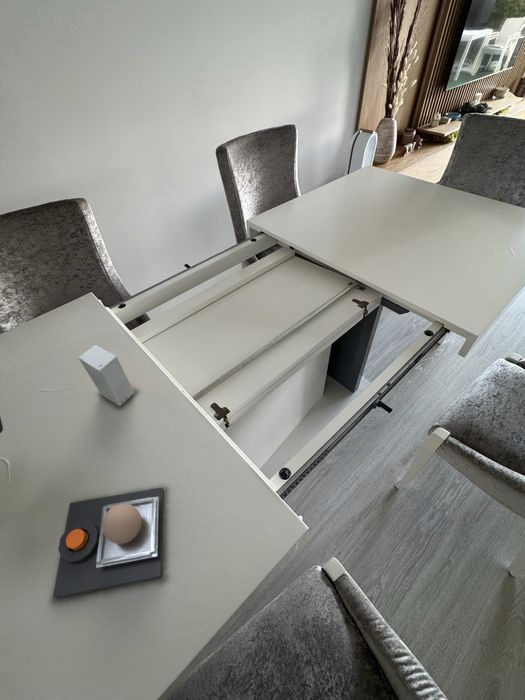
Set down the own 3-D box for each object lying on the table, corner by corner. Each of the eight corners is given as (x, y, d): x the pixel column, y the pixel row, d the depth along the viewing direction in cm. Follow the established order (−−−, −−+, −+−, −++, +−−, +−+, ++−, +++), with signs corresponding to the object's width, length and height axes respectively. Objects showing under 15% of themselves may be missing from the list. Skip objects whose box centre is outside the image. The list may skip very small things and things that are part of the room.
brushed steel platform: (96, 568, 50) (93, 567, 49) (104, 506, 55) (101, 504, 55) (157, 556, 51) (155, 555, 50) (159, 497, 56) (157, 494, 55)
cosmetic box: (135, 392, 73) (117, 356, 64) (120, 407, 71) (99, 371, 62) (115, 380, 75) (95, 343, 66) (100, 394, 73) (76, 358, 64)
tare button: (68, 552, 52) (63, 549, 50) (71, 533, 53) (67, 530, 52) (86, 548, 52) (82, 546, 51) (89, 530, 54) (85, 527, 52)
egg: (153, 523, 53) (141, 510, 48) (128, 555, 51) (112, 545, 45) (129, 504, 55) (115, 489, 50) (104, 534, 52) (86, 522, 47)
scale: (57, 598, 50) (47, 596, 48) (73, 505, 58) (65, 499, 56) (162, 577, 52) (157, 574, 49) (163, 490, 60) (159, 483, 58)
